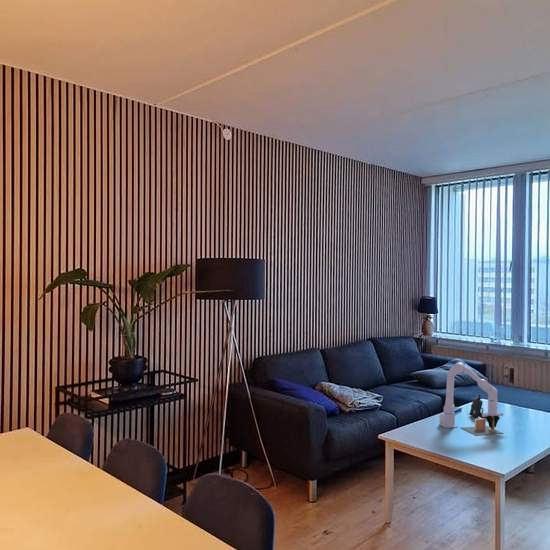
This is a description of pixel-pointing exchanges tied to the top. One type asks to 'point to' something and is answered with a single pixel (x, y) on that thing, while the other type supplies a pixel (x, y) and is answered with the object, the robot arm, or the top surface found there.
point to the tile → (480, 424)
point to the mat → (480, 431)
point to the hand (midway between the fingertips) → (492, 427)
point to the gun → (476, 408)
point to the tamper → (492, 426)
